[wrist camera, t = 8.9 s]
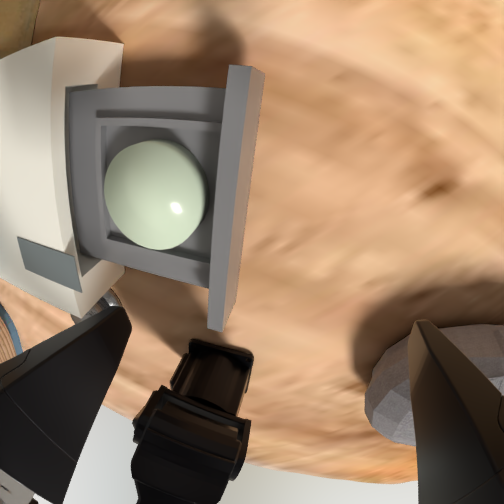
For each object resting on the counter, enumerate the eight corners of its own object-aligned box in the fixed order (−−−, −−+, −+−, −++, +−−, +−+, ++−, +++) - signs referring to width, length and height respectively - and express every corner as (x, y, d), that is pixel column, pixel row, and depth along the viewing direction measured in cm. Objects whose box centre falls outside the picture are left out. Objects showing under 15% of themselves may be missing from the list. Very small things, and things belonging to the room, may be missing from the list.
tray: (265, 73, 14) (251, 66, 11) (235, 300, 21) (222, 332, 18) (77, 77, 15) (43, 79, 13) (88, 259, 23) (63, 280, 20)
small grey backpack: (545, 306, 18) (380, 305, 22) (579, 361, 11) (394, 387, 15) (488, 398, 25) (348, 406, 29) (502, 450, 18) (345, 470, 22)
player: (134, 42, 16) (66, 32, 10) (133, 275, 26) (90, 323, 20) (20, 68, 18) (-35, 77, 12) (34, 243, 28) (-8, 274, 22)
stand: (119, 286, 27) (99, 308, 24) (127, 329, 30) (111, 350, 27) (76, 272, 28) (56, 290, 25) (86, 313, 31) (70, 332, 28)
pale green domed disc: (214, 144, 16) (204, 148, 14) (206, 247, 19) (197, 260, 17) (118, 135, 16) (102, 140, 15) (120, 228, 20) (108, 238, 18)
